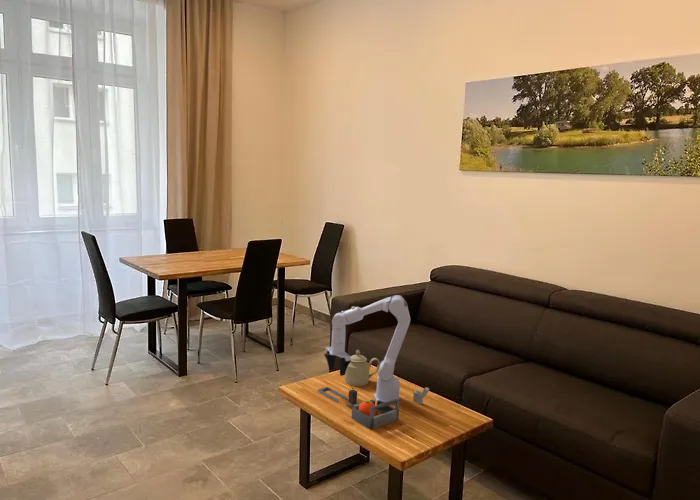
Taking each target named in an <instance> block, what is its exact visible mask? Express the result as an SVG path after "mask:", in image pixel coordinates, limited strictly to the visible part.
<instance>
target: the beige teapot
mask: <svg viewBox="0 0 700 500" xmlns="http://www.w3.org/2000/svg"><path fill="white" fill-rule="evenodd" d="M350 356H351V358H350V359H351V362H350V363H349V365H348V367H347V369H346V373H345V375H344V381H345V383H346V384H347V385H349V386H354V387H363V386H366V385H368V384H369V380H370V379H371V377H373V376H375V375H376V373H378V371H379V368H380V363H381V361H380V360H379V359H378V358H377V357H373V358H371V359H370V360H369V362H368V361H367V360H368V359H367V358H366V356H364V355H363V354H362V355H361V350H360V349H356V351H355V354H353V355H350ZM374 361H376V362H377V366H376V368H375V370H374V371H372V373H370V370H371V365H372V363H373V362H374Z"/></svg>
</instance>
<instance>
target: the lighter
mask: <svg viewBox="0 0 700 500" xmlns="http://www.w3.org/2000/svg"><path fill="white" fill-rule="evenodd" d="M429 391H430V388H429V387H428V386H427V387H424V389H423V390H420V389H415V391H413V393H412V394H413V396H412V400H413V401H414V402H413V401H412V402H413V403H415V402H416V403H415V404H417V403H418V404H417V405H419V404H421V405H423V403H424V398H425V397H426V396H427V395H428V393H429Z"/></svg>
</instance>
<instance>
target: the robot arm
mask: <svg viewBox="0 0 700 500" xmlns="http://www.w3.org/2000/svg"><path fill="white" fill-rule="evenodd" d="M380 311H383V312H385V313H388V312H390V313H391V314H392V315H393V316H394V317H395V319H396V320H397V324H396V325H397V326H396V327H395V330H394V333H393V336H392V338H391V341H390V344H389V346H388V349H387V351H386V354H385V356H384V358H383V360H381V361H380V367H379V370H378V371H377V378H376V391H375V392H374V393H373V396H374V398H375V401H377V400H381V401H383V402H384V403H385V402H388V401H391V400H394V399H397V398H398V399H400V388H401V385H400V384H401V383H400V379H399V378H398V377H395V375H394V371H395V365H396V361H397V358H398V356H399V352H400V350H401V347H402V345H403V343H404V340H405V337H406V335H407V331H408V329H409V326H410V323H411V316H410V311H409V307H408V303H407V301H406V299H405V298H404V297H403V296H402V295H398V294H395V295H392V296H389V297H388V296H387V297H385V298H383V299H380V300H378V301H375V302H373V303H371V304H369V305H366V306H363V307H360V306H354V305H353V306H351V308H349V309H346V310H341V312H337V313H335V314H334V315H333V317H332V320H331V326H332V327H331V328H332V330H331V344H330V346H326V347H325V352H326V353H324V355H323V356H324V357H325V361H326V362H327V366H328V371H332V370H333V371H334V369H335V362H336V358H337V357H339V358H341V359H338V360H337V362H338V365H339V375H340V376H341V377H343V376H345V373H346V369H347V367H348V365H349V363H350V362H351V359H350V358H351V356H352V355H350V354H348V353H347V352H346V351H345V348H346V332H347V331H346V325H351V324H353V323H356V322H360V321H361V320H363V319H364V316H367V315H370V314H373V313H376V312H380Z"/></svg>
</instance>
